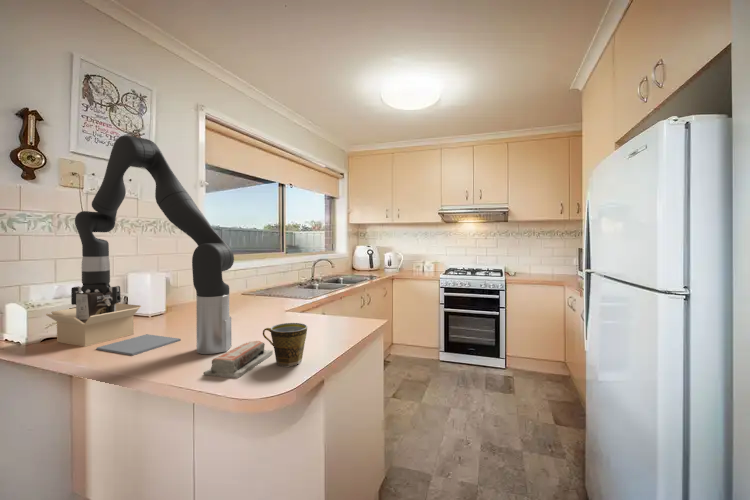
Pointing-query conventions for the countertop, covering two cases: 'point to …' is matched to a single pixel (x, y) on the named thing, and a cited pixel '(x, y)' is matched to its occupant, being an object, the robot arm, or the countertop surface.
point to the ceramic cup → (288, 342)
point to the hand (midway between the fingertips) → (96, 316)
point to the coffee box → (91, 305)
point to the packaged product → (239, 360)
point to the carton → (94, 325)
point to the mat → (138, 344)
